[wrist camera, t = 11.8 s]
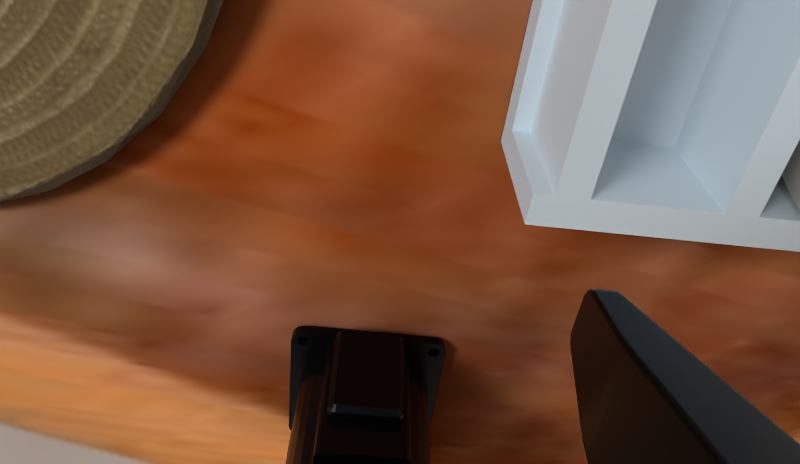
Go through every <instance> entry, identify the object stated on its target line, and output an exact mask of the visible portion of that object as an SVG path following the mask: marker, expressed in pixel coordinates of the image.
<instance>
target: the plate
mask: <svg viewBox="0 0 800 464" xmlns="http://www.w3.org/2000/svg"><path fill="white" fill-rule="evenodd" d="M782 176H783V179H784V181H785V184H786V186H787V188H788V190H789V193H790V195H791V197H792V198H793V200H794V201H795V203H796V205H797V206H798V208H799V209H800V140H799V142H798V144H797V146H796V148H795V149H794V151H793V153H792V155H791V157H790V159H789V161H788V163H787V165H786V167H785V169H784V171H783V173H782Z"/></svg>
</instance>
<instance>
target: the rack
mask: <svg viewBox="0 0 800 464" xmlns="http://www.w3.org/2000/svg"><path fill="white" fill-rule="evenodd" d="M799 140H800V0H533V3H532V7H531V11H530V16H529V20H528V25H527V29H526V33H525V38H524V42H523V47H522V51H521V55H520V60H519V64H518V69H517V73H516V77H515V82H514V86H513V91H512V95H511V99H510V104H509V108H508V113H507V117H506V121H505V126H504V130H503V135H502V139H501V143H502V147H503V150H504V154H505V157H506V161H507V164H508V168H509V171H510V175H511V178H512V182H513V185H514V189H515V192H516V196H517V199H518V202H519V206H520V209H521V213H522V216H523V220H524V223H525V224H527V225H537V226H547V227H557V228H567V229H577V230H587V231H597V232H607V233H616V234H626V235H636V236H646V237H656V238H666V239H676V240H686V241H696V242H706V243H716V244H726V245H736V246H746V247H756V248H766V249H776V250H786V251H796V252H800V209H799V208H798V206H797V205H796V203H795V201H794V200H793V198H792V197H791V195H790V193H789V190H788V188H787V186H786V184H785V181H784V179H783V176H782V173H783V171H784V169H785V167H786V165H787V163H788V161H789V159H790V157H791V155H792V153H793V151H794V149H795V148H796V146H797V144H798V142H799Z"/></svg>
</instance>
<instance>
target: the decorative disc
mask: <svg viewBox="0 0 800 464" xmlns="http://www.w3.org/2000/svg"><path fill="white" fill-rule="evenodd" d="M223 1H224V0H0V203H4V202H7V201H11V200H15V199H19V198H23V197H27V196H31V195H35V194H39V193H43V192H47V191H50V190H52V189H54V188H56V187H58V186H60V185H62V184H64V183H66V182H68V181H70V180H72V179H74V178H76V177H77V176H79V175H81V174H83V173H85V172H87V171H89V170H91V169H93V168H95V167H97V166H99V165H101V164H103V163H105V162H107V161H108V160H110V159H111V158H112V157H113V156H114V155H116V154H117V153H118V152H119V151H120V150H121V149H122V148H124V147H125V146H126V145H127V144H128V143H129V142H130V141H131V140H133V139H134V138H135V137H136V136H137V135H138V134H139V133H140V132H142V131H143V130H144V129H145V128H146V127H147V126H148V125H149V124H151V123H152V122H153V121H154V120H155V119H156V118H157V117H158V116H160V115H161V114H162V112H163V111H164V109H165V108H166V107H167V105H168V104H169V102H170V101H171V99H172V98H173V96H174V95H175V93H176V92H177V90H178V89H179V87H180V86H181V84H182V83H183V81H184V80H185V78H186V77H187V75H188V74H189V72H190V71H191V69H192V68H193V67H194V65H195V64H196V62H197V61H198V59H199V58H200V56H201V55H202V53H203V52H204V50H205V49H206V46H207V43H208V41H209V38H210V35H211V33H212V30H213V27H214V25H215V22H216V19H217V17H218V14H219V11H220V9H221V6H222V3H223Z"/></svg>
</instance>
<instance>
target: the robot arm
mask: <svg viewBox="0 0 800 464" xmlns="http://www.w3.org/2000/svg"><path fill="white" fill-rule="evenodd" d="M300 337H306V338H308V339H302V338H300ZM570 345H571V354H572V362H573V369H574V377H575V385H576V393H577V401H578V409H579V417H580V425H581V431H582V438H583V443H584V447H585V452H586V456H587V460H588V464H800V444H799V443H798V442H797V441H795V440H794V439H793V438H792V437H791V436H789V435H788V434H787V433H786V432H785V431H783V430H782V429H781V428H780V427H779V426H777V425H776V424H775V423H774V422H773V421H772V420H770V419H769V418H768V417H767V416H766V415H764V414H763V413H762V412H761V411H760V410H758V409H757V408H756V407H755V406H754V405H752V404H751V403H750V402H749V401H748V400H747V399H745V398H744V397H743V396H742V395H741V394H739V393H738V392H737V391H736V390H735V389H733V388H732V387H731V386H730V385H729V384H727V383H726V382H725V381H724V380H723V379H722V378H720V377H719V376H718V375H717V374H716V373H714V372H713V371H712V370H711V369H710V368H708V367H707V366H706V365H705V364H704V363H703V362H701V361H700V360H699V359H698V358H697V357H695V356H694V355H693V354H692V353H691V352H689V351H688V350H687V349H686V348H685V347H683V346H682V345H681V344H680V343H679V342H678V341H676V340H675V339H674V338H673V337H672V336H670V335H669V334H668V333H667V332H666V331H664V330H663V329H662V328H661V327H660V326H658V325H657V324H656V323H655V322H654V321H653V320H651V319H650V318H649V317H648V316H647V315H645V314H644V313H643V312H642V311H641V310H639V309H638V308H637V307H636V306H635V305H633V304H632V303H631V302H630V301H629V300H628V299H626V298H625V297H624V296H623V295H622V294H620V293H619V292H617V291H614V290H603V289H590V290H588V291H587V293H586V294H585V296H584V298H583V301H582V303H581V306H580V309H579V312H578V314H577V317H576V320H575V323H574V326H573V328H572V332H571V339H570ZM432 348H436V350H430V349H432ZM444 357H445V343H444V342H443V341H442V340H441V339H439V338H435V337H425V336H413V335H402V334H390V333H379V332H368V331H356V330H345V329H334V328H322V327H311V326H300V327H297V328H296V329H295V330H294V331H293V335H292V340H291V371H290V406H289V428H290V430H291V436H290V442H289V447H288V453H287V459H286V464H431V459H430V436H429V426H430V422H431V417H432V412H433V408H434V403H435V399H436V394H437V389H438V385H439V380H440V376H441V371H442V366H443V362H444Z"/></svg>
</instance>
